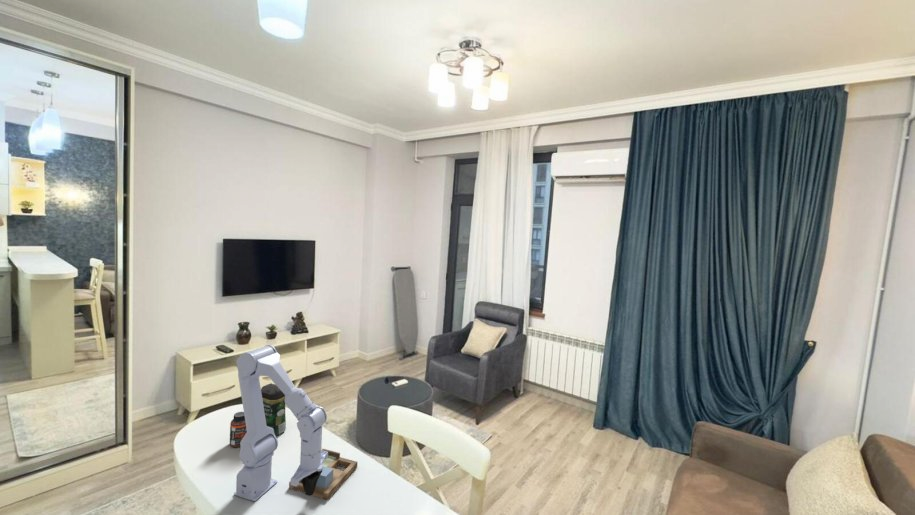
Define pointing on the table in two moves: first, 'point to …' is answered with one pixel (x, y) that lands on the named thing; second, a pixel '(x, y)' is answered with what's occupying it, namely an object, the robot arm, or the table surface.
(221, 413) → the table surface
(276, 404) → the coffee jar
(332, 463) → the brown compartment tray
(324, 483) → the slate block
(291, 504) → the table surface
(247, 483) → the robot arm
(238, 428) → the supplement bottle
